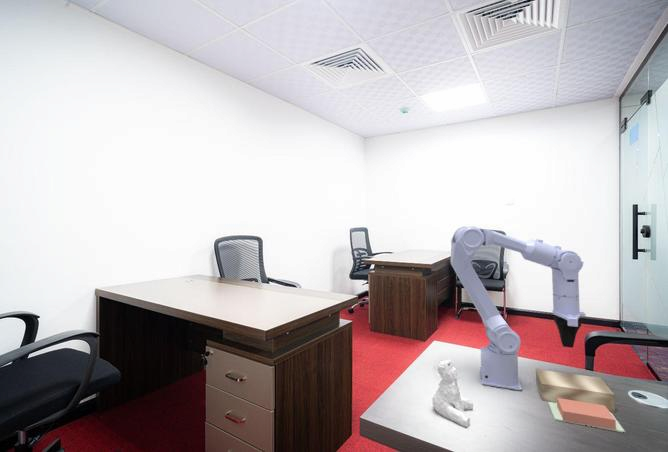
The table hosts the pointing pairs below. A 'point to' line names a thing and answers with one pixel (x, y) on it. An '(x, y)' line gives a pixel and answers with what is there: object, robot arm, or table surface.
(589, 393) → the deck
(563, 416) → the salmon pink block
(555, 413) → the mat
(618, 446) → the table surface
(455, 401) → the seated beast figurine
